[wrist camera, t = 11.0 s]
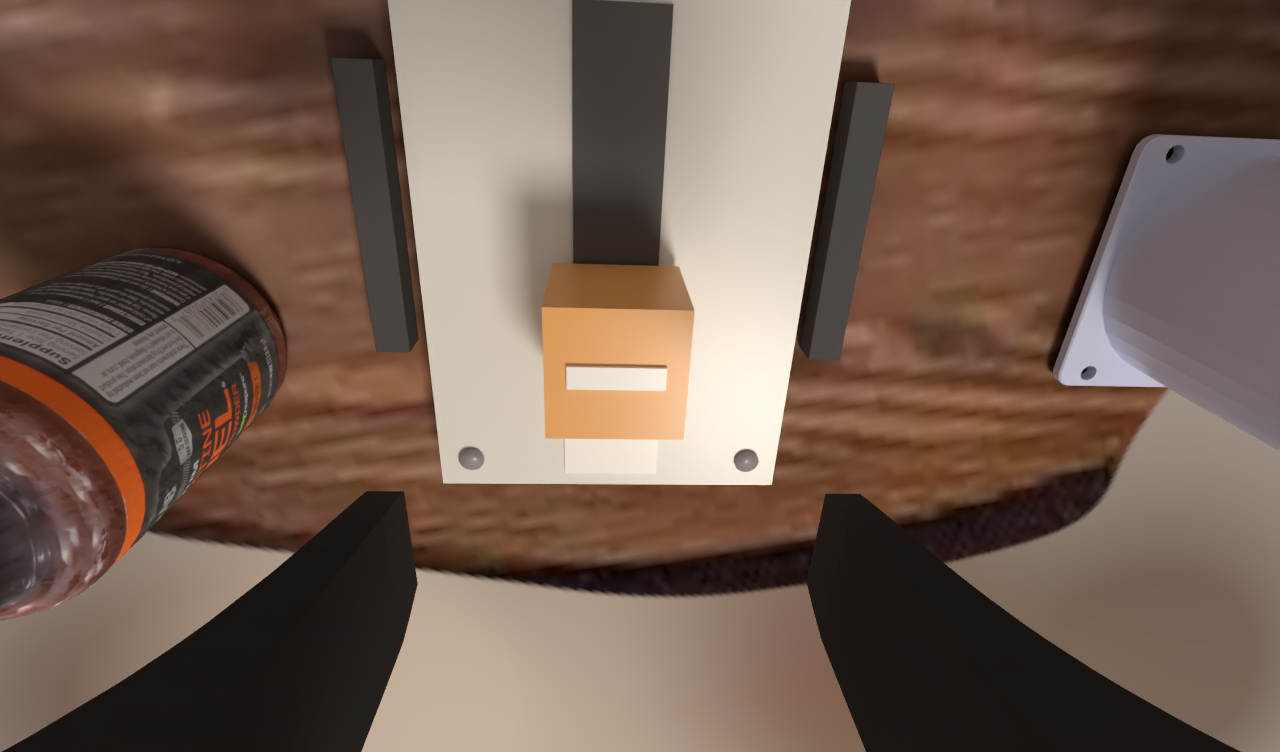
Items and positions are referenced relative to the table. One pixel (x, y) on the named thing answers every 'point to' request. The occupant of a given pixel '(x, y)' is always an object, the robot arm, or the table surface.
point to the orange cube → (616, 352)
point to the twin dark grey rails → (386, 237)
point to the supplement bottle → (119, 408)
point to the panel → (613, 209)
